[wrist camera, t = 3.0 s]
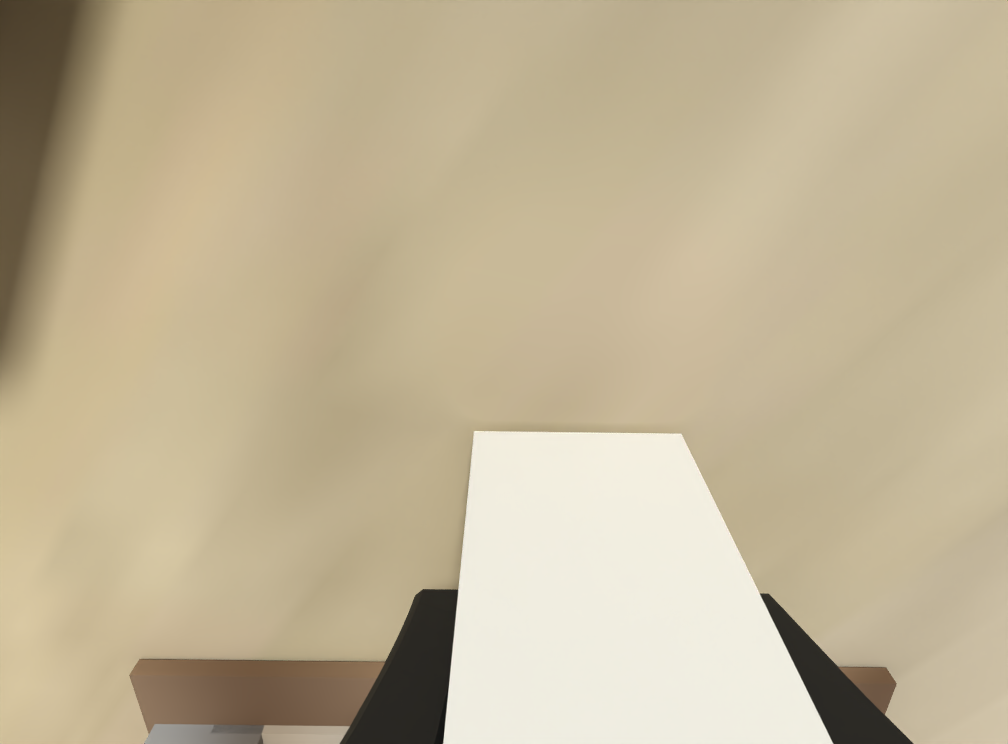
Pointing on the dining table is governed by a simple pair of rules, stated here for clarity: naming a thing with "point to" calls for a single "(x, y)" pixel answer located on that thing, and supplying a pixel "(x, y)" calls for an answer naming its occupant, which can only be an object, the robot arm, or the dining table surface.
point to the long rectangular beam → (610, 604)
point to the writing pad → (294, 699)
